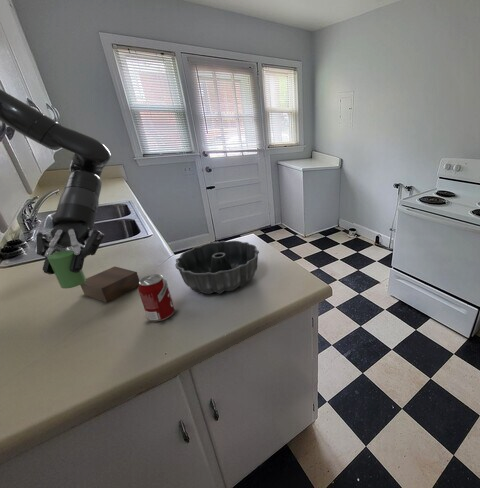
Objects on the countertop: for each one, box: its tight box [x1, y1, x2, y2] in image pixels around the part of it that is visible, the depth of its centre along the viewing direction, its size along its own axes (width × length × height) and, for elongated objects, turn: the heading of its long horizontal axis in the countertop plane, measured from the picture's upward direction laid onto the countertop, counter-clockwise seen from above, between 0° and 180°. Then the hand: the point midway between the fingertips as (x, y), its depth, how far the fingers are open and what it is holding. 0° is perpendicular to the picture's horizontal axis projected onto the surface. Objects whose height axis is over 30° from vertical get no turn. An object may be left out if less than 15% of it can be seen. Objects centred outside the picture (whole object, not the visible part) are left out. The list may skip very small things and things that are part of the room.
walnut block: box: [80, 266, 140, 303], centre depth 89 cm, size 11×11×5 cm
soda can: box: [137, 273, 175, 322], centre depth 75 cm, size 7×7×12 cm
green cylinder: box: [47, 249, 87, 289], centre depth 65 cm, size 5×5×8 cm
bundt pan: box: [174, 240, 260, 295], centre depth 93 cm, size 26×26×10 cm
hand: (61, 272), depth 64 cm, fingers closed on green cylinder, 4 cm apart
